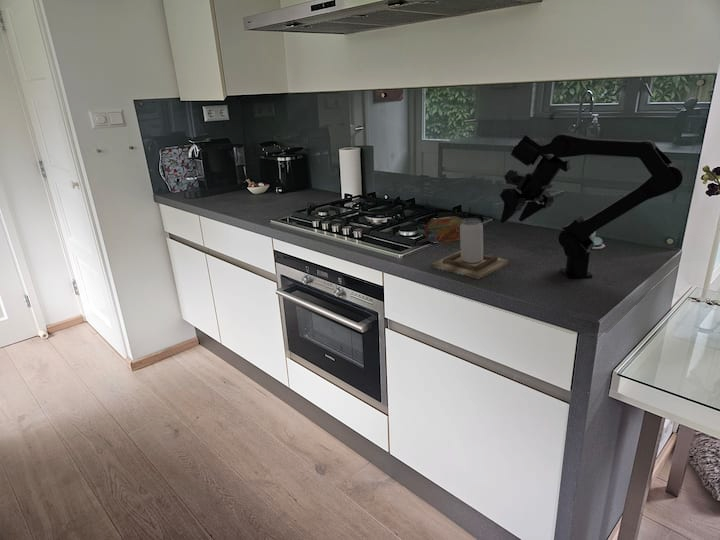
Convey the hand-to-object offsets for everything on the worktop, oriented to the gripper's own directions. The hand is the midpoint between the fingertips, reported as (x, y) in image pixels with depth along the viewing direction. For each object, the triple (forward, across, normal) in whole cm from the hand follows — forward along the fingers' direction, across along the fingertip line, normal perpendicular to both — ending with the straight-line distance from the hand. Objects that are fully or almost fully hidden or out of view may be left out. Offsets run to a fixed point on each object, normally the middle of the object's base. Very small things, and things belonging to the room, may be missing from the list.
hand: (511, 221), depth 141 cm
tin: (+24, -5, -18) cm, 31 cm away
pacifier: (+2, -32, +13) cm, 35 cm away
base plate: (+15, +8, +1) cm, 17 cm away
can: (+14, +7, 0) cm, 16 cm away
